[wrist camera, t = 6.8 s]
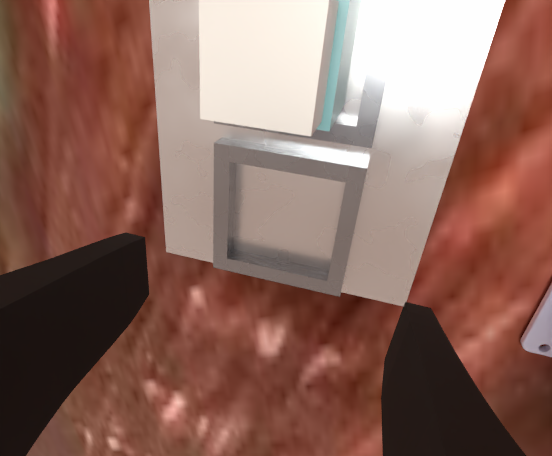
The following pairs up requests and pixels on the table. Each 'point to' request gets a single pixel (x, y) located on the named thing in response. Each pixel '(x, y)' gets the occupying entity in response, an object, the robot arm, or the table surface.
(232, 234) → the panel
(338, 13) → the plug
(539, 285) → the table surface
